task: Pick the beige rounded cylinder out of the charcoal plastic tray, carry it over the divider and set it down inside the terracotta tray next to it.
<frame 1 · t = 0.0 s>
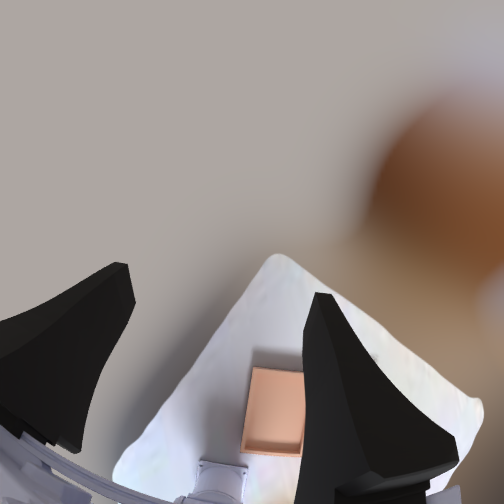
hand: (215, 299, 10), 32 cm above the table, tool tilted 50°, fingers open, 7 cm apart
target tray: (277, 412, 37), on the table
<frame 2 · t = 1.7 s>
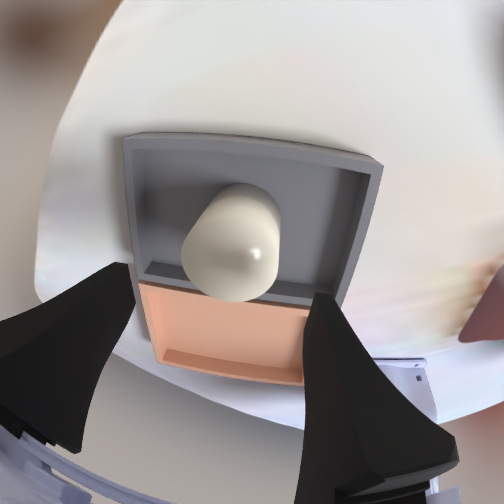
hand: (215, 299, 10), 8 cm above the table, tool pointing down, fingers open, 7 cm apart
beige rounded cylinder: (243, 218, 16), point 1 cm above the table, touching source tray
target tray: (236, 323, 22), on the table
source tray: (246, 211, 17), on the table
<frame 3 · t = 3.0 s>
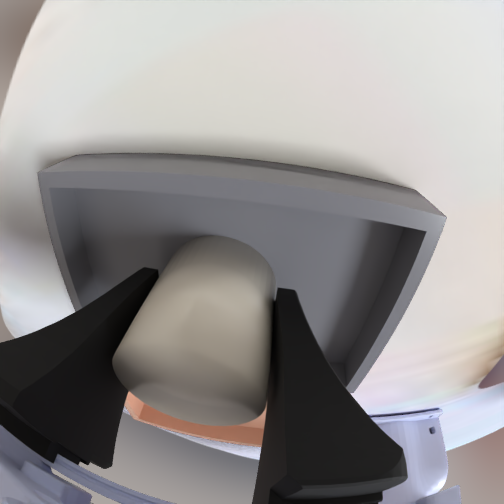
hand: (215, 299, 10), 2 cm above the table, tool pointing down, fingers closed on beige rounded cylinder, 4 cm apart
beige rounded cylinder: (220, 284, 11), point 1 cm above the table, touching gripper, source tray
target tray: (222, 388, 17), on the table
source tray: (225, 270, 12), on the table
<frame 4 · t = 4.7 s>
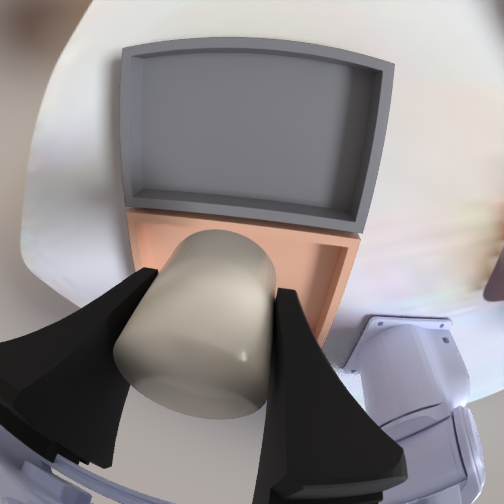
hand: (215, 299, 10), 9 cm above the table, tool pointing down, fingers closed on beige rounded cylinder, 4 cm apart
beige rounded cylinder: (221, 279, 11), point 7 cm above the table, touching gripper
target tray: (239, 268, 20), on the table
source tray: (250, 124, 14), on the table
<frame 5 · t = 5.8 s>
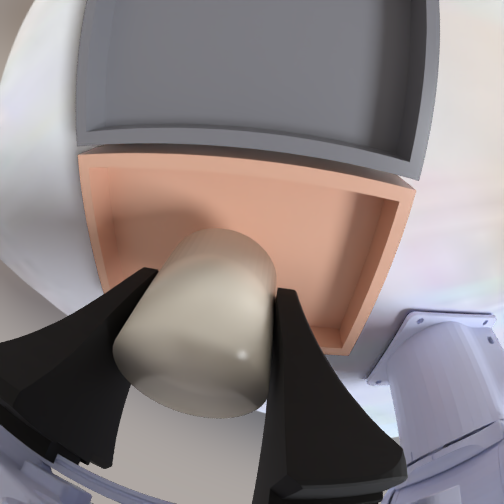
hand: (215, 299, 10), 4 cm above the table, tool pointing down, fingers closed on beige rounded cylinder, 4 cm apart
beige rounded cylinder: (221, 278, 11), point 3 cm above the table, touching gripper
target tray: (235, 241, 14), on the table
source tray: (253, 35, 9), on the table
when the fingers open (3 cm above the table, at t = 6.5 s): beige rounded cylinder drops 1 cm, resting on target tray.
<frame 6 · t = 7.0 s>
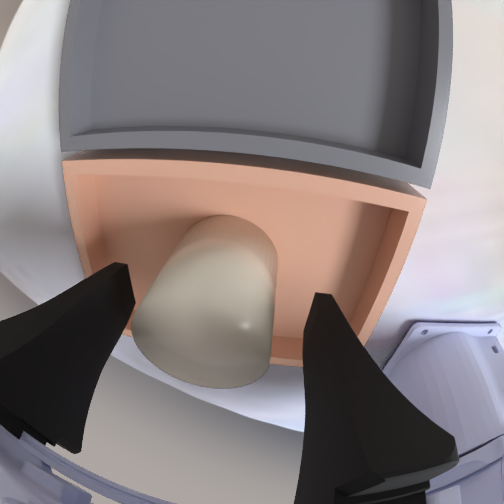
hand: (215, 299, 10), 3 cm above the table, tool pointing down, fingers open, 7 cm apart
beige rounded cylinder: (227, 261, 12), point 1 cm above the table, touching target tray
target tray: (231, 252, 13), on the table
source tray: (249, 28, 8), on the table
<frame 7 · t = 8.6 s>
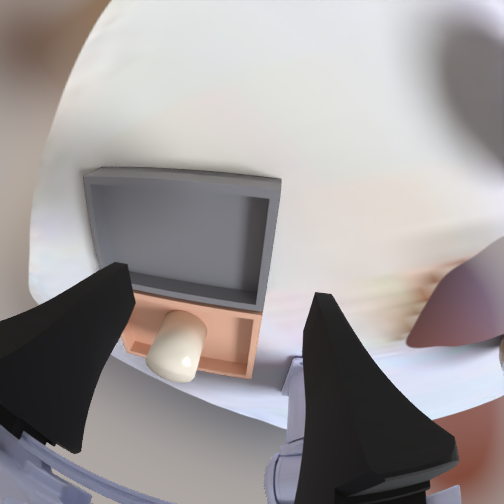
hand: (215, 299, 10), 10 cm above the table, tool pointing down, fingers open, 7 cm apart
beige rounded cylinder: (184, 327, 25), point 1 cm above the table, touching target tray
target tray: (187, 320, 26), on the table
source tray: (181, 229, 21), on the table
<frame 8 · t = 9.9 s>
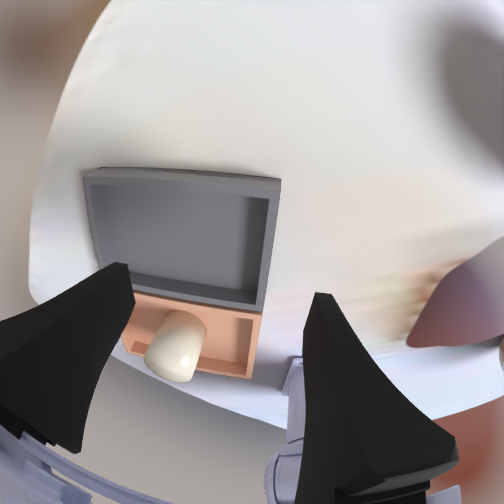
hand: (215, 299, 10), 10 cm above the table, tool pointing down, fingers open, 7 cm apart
beige rounded cylinder: (184, 327, 25), point 1 cm above the table, touching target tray
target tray: (187, 320, 26), on the table
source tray: (181, 229, 21), on the table
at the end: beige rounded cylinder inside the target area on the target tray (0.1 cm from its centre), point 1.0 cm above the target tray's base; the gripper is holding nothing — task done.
